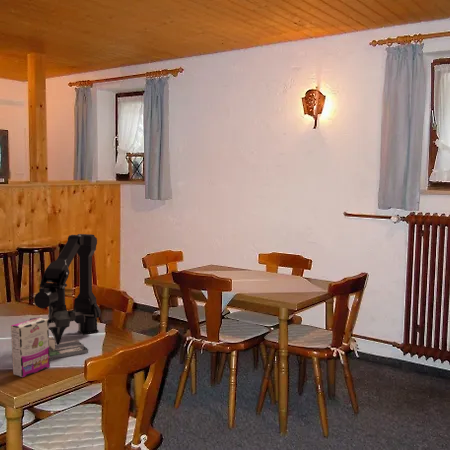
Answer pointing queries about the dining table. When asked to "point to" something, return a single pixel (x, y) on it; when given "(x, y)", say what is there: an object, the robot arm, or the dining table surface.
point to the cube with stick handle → (51, 343)
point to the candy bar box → (30, 346)
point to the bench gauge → (67, 349)
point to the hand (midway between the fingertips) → (57, 344)
